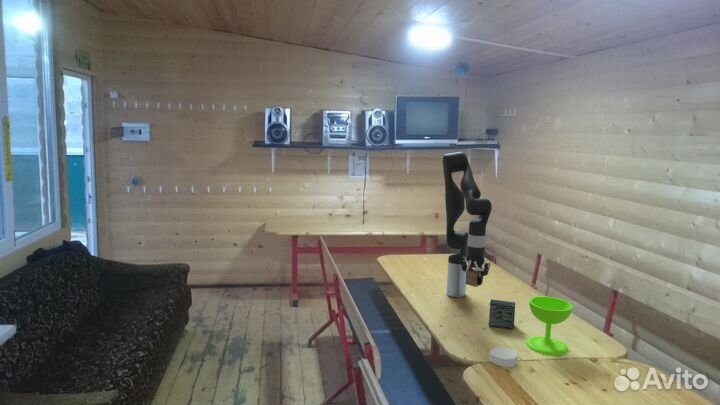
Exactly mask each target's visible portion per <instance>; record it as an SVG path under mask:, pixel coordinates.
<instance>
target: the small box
mask: <svg viewBox="0 0 720 405" xmlns="http://www.w3.org/2000/svg"><path fill="white" fill-rule="evenodd" d="M515 314H516V302H514V301H507V300H498V299H490V302H489V315H488V327H493V328H499V329H506V330H512V331H513V330H514V327H515Z"/></svg>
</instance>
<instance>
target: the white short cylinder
mask: <svg viewBox="0 0 720 405" xmlns="http://www.w3.org/2000/svg"><path fill="white" fill-rule="evenodd" d="M518 358H519V355H518V352H516V351H515V350H514V349H511V348H508V347H503V346H502V347H501V346H498V347H497V346H496V347H493V348H492V349H491V350H490V351H489V360H490V362H491V363H492V364H494V365H495V364H496V366H499V367H501V366H502V368H513V367H516V366H517V365H518V360H519V359H518Z"/></svg>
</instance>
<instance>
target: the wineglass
mask: <svg viewBox="0 0 720 405" xmlns="http://www.w3.org/2000/svg"><path fill="white" fill-rule="evenodd" d="M528 302H529V303H528V304H529V309H530V311H531V313H532V315H533V316H534V317H535V318H536V319H537V320H538V321H540V322H542V323H544V324H546V325H545V335H544V336H538V335H537V336H532V337H529V338H528V339H527V340H526V341H525V345H527V346H526V347H527V348H528V349H529V348H530V349H529V350H531V351H532V350H533V351H532V352H534V351H535V353H537V352H539V353H538V354H540V353H542V354H541V355H544V354H545V356H549V355H550V356H551V357H560V356H559V355H562V356H564V355H563V354H565V355H567V354H568V353H569V351H568V350H569V347H568V346H567V345H566V343H564V342H562V341H561V340H559V339H556V338H553V337H551V334H552V333H551V332H552V325H558V324H561V323H563V322H565V321H566V320H567V319H569V317H570V315H571V314H572V312H573V307H574V306H573V304H572V303H570V302H569V301H568V300H565V299H562V298H559V297H553V296H546V295H545V296H543V295H542V296H541V295H540V296H533V297H531V298H529V300H528ZM567 352H568V353H567ZM566 353H567V354H566Z"/></svg>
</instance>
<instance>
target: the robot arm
mask: <svg viewBox="0 0 720 405" xmlns="http://www.w3.org/2000/svg"><path fill="white" fill-rule="evenodd" d="M442 170H443V178H444V191H445V194H444V195H445V196H444V201H445V202H444V203H445V213H446V214H445V215H446V216H445V217H446V229H445V230H446V231H445V232H446V233H445V234H446V235H445V238H446V239H445V242H446V247H447V248H449V249H452V250H453V249H454V250H460V251H459V252H458V253H454V254H453V253H452V254H450V255H448V259H447V260H448V263H447V276H446V277H447V278H446V295H447V296H448V297H452V298H463V297H465V295H466V289H467V287H466V286H467V284H466V271H467V270H470V269H476V271H477V272H478V285H479V286H482V285H483V282H484V281H483V280H484V277H486V276H488V274H489V270H490V268H491V262H487V261H485V260H486V259H485V256H486V255H485V254H486V242H487V241H486V240H487V239H486V232H487V225H488V221H489V219H490V214H491V213H492V208H493V205H492V202H491V201H490V199H488V198H481V196H482V193H481V190H480V189H479V187H478V185H477V182H476V181H475V178H474V175H473V171H472V169H471V166H470V161H469V160H468V156H467V154H466V153H465V152H463V151H457V152H451V153H449V152H448V153H445V154H444V155H443V156H442ZM459 172H463V175H462V178H461V181H460V188H459V186H458V185H457V183H456V182H455V180H454V179H453V173H459ZM465 210H466V212H467V213H468V214H469V215H471V216H478V217H477V218H476V219H473V220H470V221H469V224H468V225H469V226H468V232H467V231H461V230H455V225H456V224H457V221H458V220H459V218H461V216H462V215H463V213H464V212H465ZM481 284H482V285H481Z"/></svg>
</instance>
